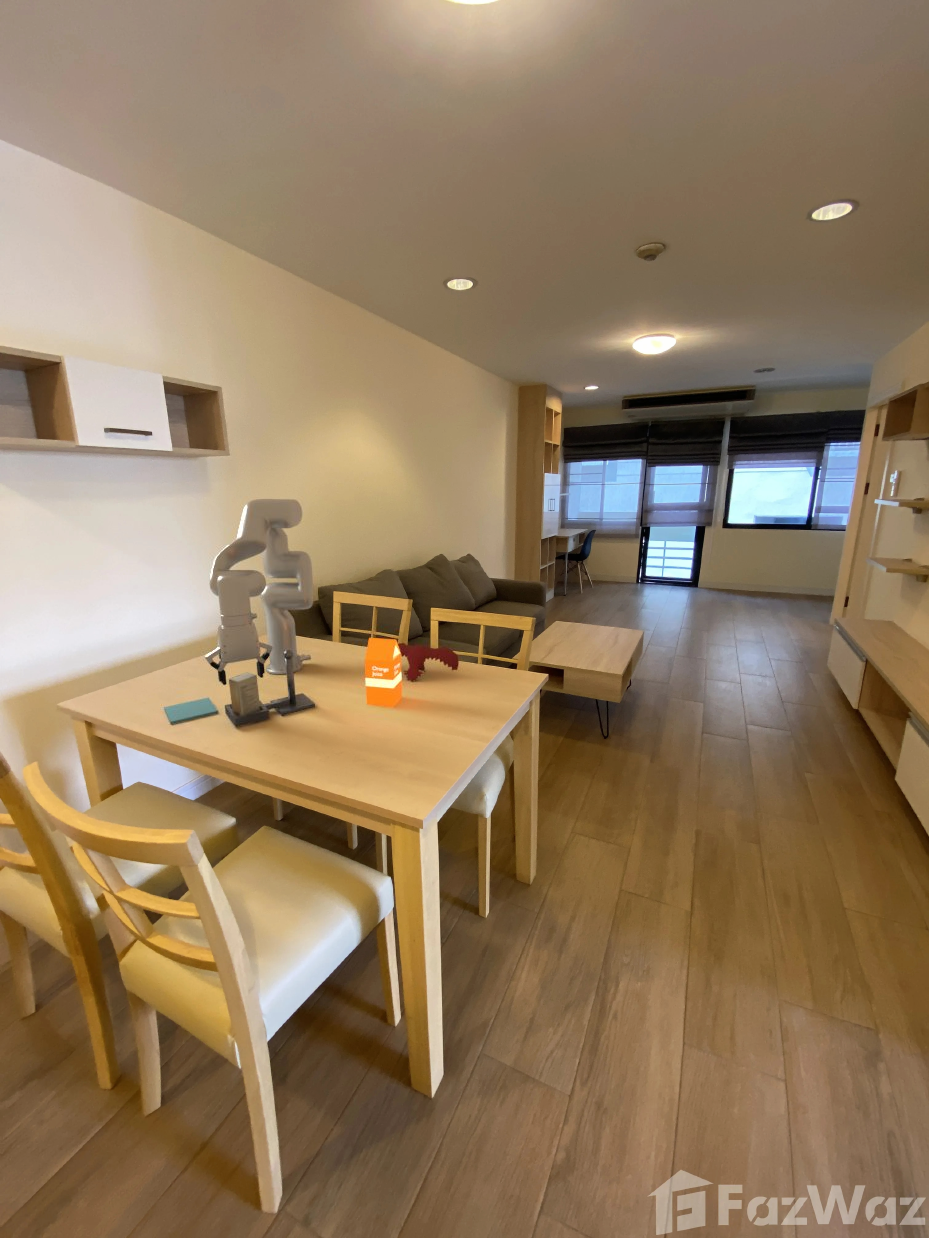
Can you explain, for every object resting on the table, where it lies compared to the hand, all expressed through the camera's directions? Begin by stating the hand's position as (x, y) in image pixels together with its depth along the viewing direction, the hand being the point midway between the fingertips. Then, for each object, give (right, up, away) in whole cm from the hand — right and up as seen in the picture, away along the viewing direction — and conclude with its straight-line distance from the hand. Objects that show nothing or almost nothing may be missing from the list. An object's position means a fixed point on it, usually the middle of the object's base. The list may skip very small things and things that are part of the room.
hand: (242, 679), depth 139 cm
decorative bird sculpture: (+45, -3, +37) cm, 59 cm away
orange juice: (+37, -9, +16) cm, 41 cm away
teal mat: (-18, -10, +7) cm, 22 cm away
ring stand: (+5, -10, +7) cm, 14 cm away
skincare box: (0, -11, +3) cm, 12 cm away
